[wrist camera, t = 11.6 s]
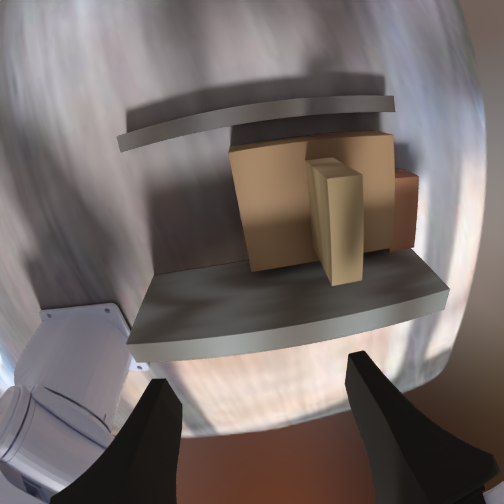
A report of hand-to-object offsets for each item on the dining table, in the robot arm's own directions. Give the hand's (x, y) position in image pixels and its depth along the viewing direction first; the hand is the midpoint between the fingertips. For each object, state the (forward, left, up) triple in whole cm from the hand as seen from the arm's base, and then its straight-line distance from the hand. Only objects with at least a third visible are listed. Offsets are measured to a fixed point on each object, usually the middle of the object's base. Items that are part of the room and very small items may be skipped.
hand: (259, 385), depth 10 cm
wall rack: (+2, +4, -10) cm, 11 cm away
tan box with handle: (+5, +4, -11) cm, 12 cm away
